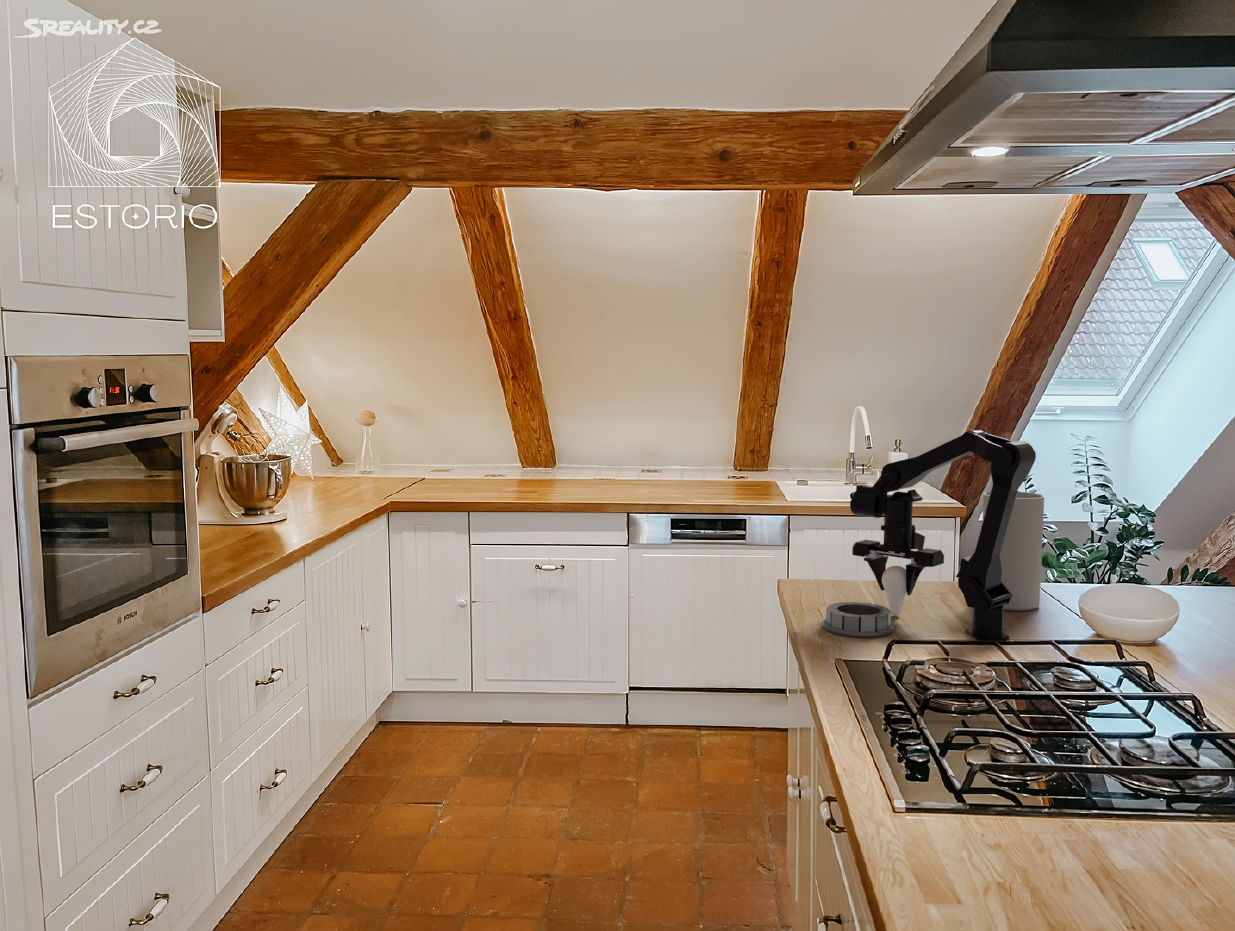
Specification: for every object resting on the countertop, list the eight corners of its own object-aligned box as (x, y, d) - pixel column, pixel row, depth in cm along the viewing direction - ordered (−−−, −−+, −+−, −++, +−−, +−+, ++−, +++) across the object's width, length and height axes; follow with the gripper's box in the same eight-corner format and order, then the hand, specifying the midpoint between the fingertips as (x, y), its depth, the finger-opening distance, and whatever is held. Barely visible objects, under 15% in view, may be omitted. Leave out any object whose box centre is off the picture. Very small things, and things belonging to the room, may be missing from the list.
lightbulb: (907, 613, 211) (908, 563, 210) (912, 620, 205) (914, 569, 204) (878, 612, 212) (879, 562, 211) (883, 619, 206) (884, 568, 205)
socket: (903, 637, 192) (904, 617, 192) (834, 638, 191) (834, 619, 191) (880, 619, 206) (880, 600, 206) (815, 620, 205) (815, 601, 205)
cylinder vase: (1047, 604, 218) (1052, 494, 216) (1026, 614, 209) (1031, 500, 207) (993, 595, 227) (997, 489, 224) (970, 605, 218) (974, 495, 215)
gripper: (957, 521, 205) (954, 593, 207) (877, 511, 218) (875, 579, 220) (932, 527, 198) (930, 602, 199) (851, 517, 211) (850, 588, 212)
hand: (896, 592), depth 208 cm, fingers closed on lightbulb, 6 cm apart
